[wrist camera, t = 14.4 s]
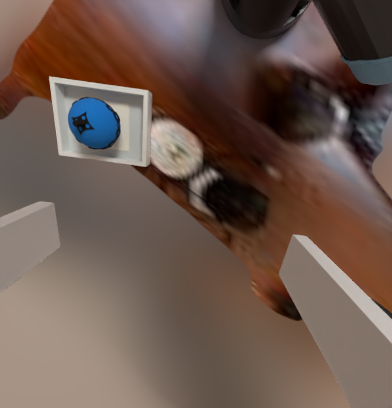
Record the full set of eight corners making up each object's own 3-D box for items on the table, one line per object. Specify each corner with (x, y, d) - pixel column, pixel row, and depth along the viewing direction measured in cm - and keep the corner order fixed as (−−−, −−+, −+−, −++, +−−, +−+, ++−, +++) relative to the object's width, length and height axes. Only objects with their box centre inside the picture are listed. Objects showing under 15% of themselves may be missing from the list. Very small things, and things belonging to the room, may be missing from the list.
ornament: (116, 94, 35) (84, 80, 26) (135, 139, 38) (113, 141, 29) (77, 110, 37) (34, 102, 27) (98, 153, 39) (66, 159, 30)
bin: (61, 81, 36) (49, 76, 33) (152, 93, 36) (148, 90, 33) (69, 153, 40) (59, 155, 38) (149, 164, 41) (145, 166, 38)
